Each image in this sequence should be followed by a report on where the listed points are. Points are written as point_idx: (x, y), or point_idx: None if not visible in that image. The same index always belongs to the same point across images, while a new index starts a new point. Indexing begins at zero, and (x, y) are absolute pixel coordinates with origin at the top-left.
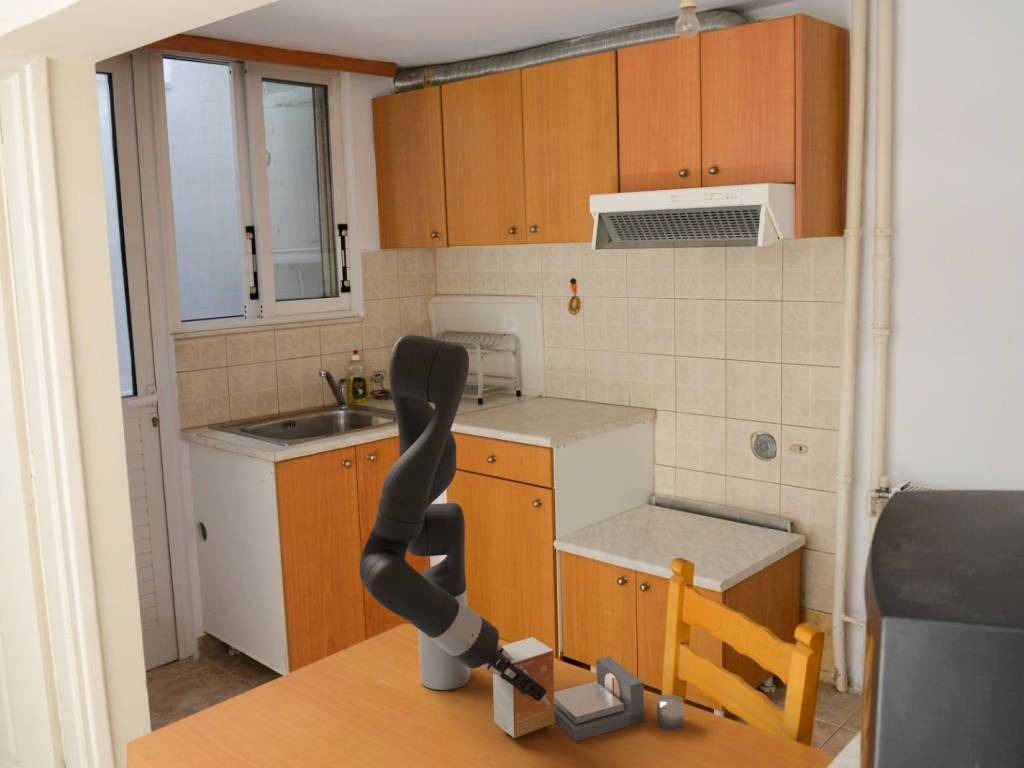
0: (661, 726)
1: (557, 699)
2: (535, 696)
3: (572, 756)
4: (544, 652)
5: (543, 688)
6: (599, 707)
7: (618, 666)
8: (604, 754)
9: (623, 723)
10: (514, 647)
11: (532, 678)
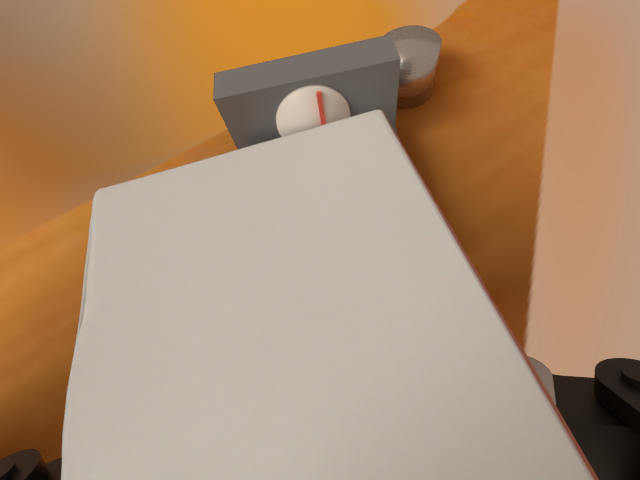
0: (419, 102)
1: None
2: None
3: (512, 303)
4: (406, 166)
5: None
6: None
7: (280, 64)
8: (511, 226)
9: None
10: (191, 422)
11: (626, 372)
